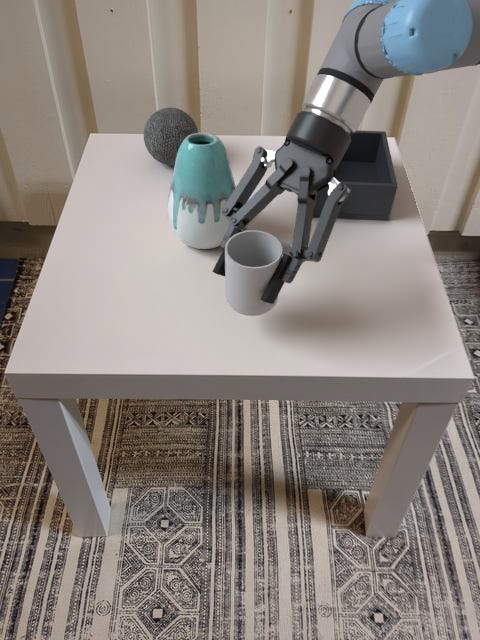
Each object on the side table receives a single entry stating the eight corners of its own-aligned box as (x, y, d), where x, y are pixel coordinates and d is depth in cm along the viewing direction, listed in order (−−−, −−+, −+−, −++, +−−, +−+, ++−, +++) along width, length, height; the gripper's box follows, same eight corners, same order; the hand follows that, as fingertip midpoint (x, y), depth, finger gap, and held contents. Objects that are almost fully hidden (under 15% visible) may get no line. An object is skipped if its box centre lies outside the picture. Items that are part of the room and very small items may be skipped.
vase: (193, 204, 98) (187, 108, 85) (252, 226, 95) (256, 128, 81) (156, 243, 92) (143, 145, 78) (218, 268, 88) (215, 169, 74)
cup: (216, 291, 78) (214, 241, 71) (276, 266, 82) (280, 216, 75) (242, 325, 74) (243, 276, 67) (305, 297, 78) (312, 248, 71)
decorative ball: (193, 142, 111) (191, 94, 104) (204, 171, 105) (202, 122, 97) (143, 149, 109) (136, 100, 102) (151, 179, 103) (145, 129, 95)
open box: (388, 220, 96) (397, 186, 91) (302, 217, 96) (306, 182, 91) (377, 164, 107) (385, 131, 102) (300, 161, 107) (304, 128, 102)
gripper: (404, 162, 69) (316, 326, 73) (272, 108, 77) (199, 258, 81) (392, 141, 62) (295, 323, 66) (249, 85, 71) (170, 249, 74)
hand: (242, 287), depth 74 cm, fingers closed on cup, 7 cm apart
